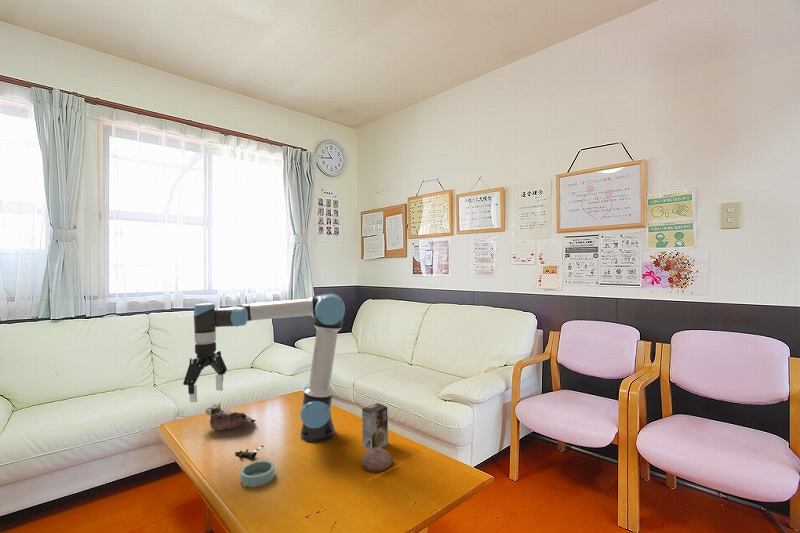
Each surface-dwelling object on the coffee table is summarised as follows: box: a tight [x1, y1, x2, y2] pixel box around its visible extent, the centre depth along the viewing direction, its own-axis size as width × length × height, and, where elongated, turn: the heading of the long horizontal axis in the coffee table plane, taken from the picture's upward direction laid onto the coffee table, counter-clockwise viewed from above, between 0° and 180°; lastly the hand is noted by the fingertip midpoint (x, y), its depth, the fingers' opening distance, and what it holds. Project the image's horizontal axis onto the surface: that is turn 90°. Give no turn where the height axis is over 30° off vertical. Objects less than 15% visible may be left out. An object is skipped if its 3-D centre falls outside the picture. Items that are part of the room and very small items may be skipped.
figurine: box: [234, 444, 265, 459], centre depth 152 cm, size 6×4×12 cm
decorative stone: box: [360, 447, 394, 473], centre depth 144 cm, size 12×12×6 cm
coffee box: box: [361, 402, 389, 451], centre depth 160 cm, size 9×6×16 cm
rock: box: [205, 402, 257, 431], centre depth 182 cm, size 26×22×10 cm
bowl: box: [239, 459, 276, 488], centre depth 136 cm, size 11×11×4 cm
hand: (207, 395), depth 152 cm, fingers open, 13 cm apart
